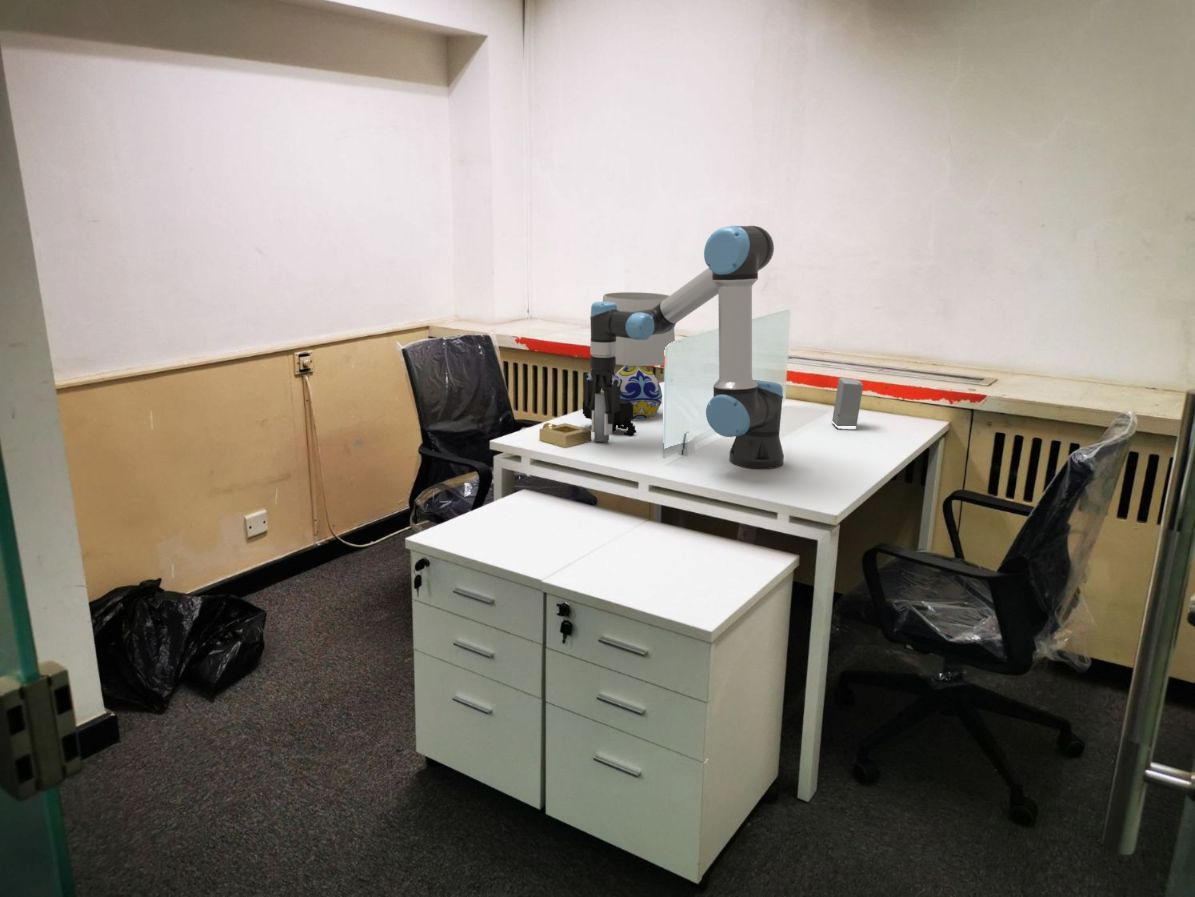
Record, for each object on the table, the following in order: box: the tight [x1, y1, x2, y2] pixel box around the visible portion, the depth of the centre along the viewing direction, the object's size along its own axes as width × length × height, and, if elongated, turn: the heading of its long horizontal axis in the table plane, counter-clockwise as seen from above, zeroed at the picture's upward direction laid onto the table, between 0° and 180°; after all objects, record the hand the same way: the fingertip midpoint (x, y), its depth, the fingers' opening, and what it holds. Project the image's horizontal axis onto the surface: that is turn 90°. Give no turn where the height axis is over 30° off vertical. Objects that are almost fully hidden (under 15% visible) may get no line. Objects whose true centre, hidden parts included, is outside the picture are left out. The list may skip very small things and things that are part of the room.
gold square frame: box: [538, 422, 592, 449], centre depth 271 cm, size 14×11×4 cm
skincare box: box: [831, 377, 864, 427], centre depth 294 cm, size 8×7×16 cm
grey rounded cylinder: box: [593, 391, 610, 442], centre depth 269 cm, size 4×4×14 cm
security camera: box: [582, 398, 637, 437], centre depth 283 cm, size 7×18×10 cm, turn 53°
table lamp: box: [602, 291, 676, 421], centre depth 300 cm, size 27×27×40 cm
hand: (601, 432), depth 270 cm, fingers closed on grey rounded cylinder, 4 cm apart
